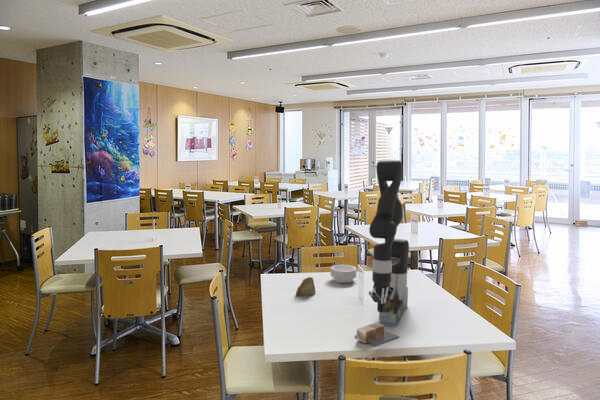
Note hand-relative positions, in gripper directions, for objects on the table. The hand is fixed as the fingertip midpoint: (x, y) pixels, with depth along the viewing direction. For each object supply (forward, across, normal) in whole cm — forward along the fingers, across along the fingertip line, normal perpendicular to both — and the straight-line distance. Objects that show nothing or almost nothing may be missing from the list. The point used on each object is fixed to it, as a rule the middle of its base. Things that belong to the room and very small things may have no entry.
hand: (381, 311), depth 185 cm
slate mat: (+10, -2, 0) cm, 10 cm away
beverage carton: (+11, +19, +11) cm, 24 cm away
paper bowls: (+11, +44, +68) cm, 82 cm away
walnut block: (+7, 0, 0) cm, 7 cm away
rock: (+11, +10, +61) cm, 63 cm away
